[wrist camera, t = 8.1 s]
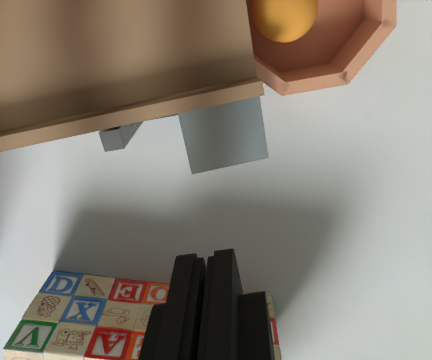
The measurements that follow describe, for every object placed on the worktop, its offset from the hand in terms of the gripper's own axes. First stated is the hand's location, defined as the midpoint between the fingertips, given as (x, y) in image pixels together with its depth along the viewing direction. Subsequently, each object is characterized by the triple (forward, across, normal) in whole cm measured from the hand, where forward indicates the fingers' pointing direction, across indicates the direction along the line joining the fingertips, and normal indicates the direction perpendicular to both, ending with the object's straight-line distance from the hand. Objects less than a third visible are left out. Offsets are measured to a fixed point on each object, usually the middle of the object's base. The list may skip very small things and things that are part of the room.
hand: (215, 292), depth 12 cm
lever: (+16, +7, -4) cm, 18 cm away
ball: (+18, -5, -6) cm, 19 cm away
